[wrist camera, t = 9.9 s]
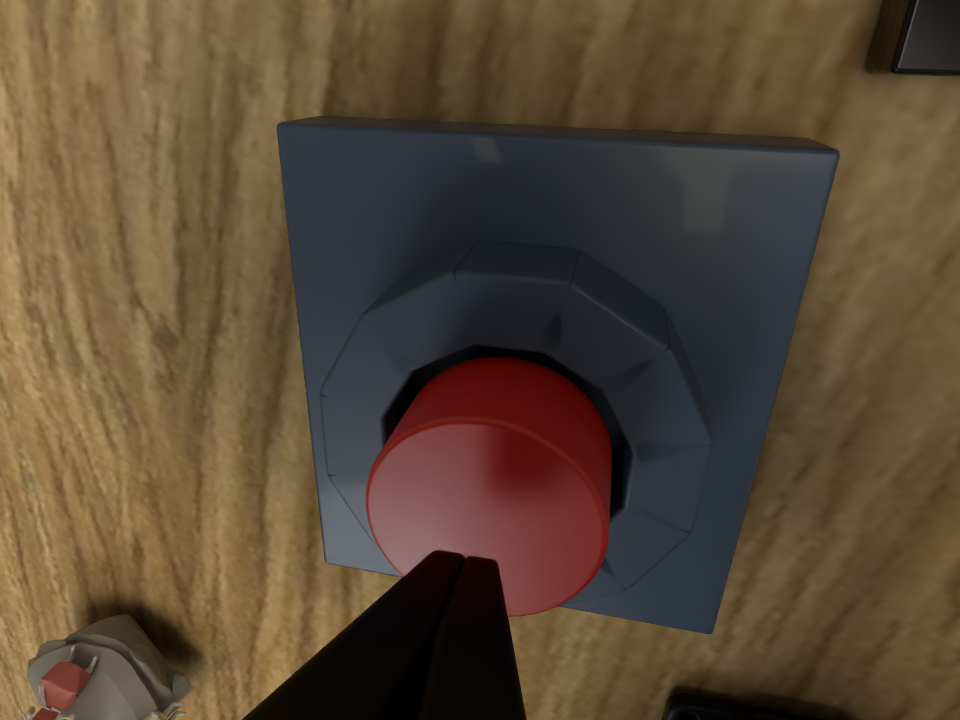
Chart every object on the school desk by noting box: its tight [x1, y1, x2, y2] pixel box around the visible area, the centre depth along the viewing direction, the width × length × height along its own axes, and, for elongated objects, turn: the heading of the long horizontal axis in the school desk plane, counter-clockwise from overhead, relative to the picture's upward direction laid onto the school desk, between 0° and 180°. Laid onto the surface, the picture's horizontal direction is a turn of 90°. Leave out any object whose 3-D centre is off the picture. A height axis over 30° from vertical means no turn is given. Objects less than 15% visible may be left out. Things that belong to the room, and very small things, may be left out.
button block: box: [277, 116, 840, 634], centre depth 12 cm, size 10×9×4 cm
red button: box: [366, 356, 612, 617], centre depth 10 cm, size 4×4×2 cm
